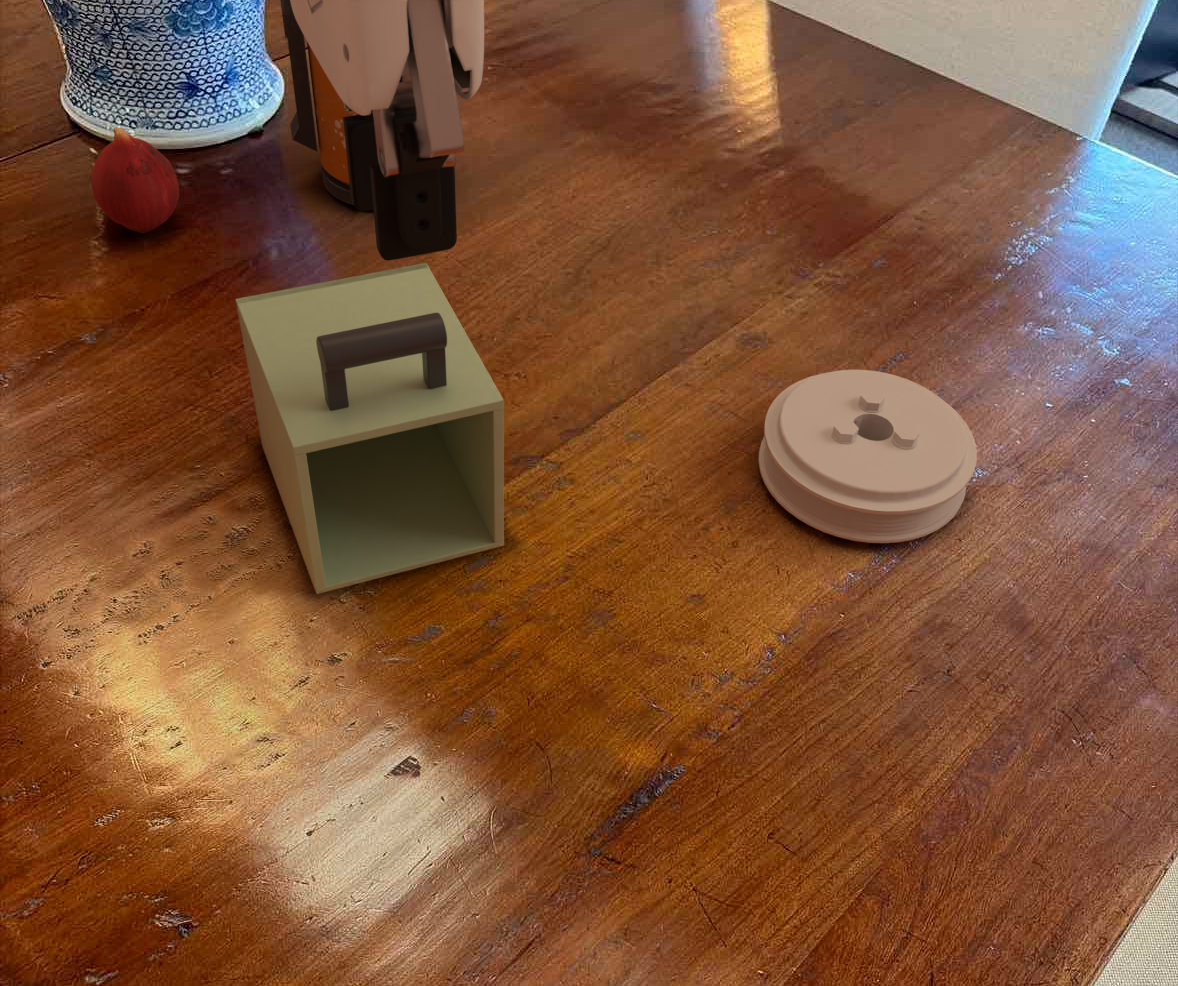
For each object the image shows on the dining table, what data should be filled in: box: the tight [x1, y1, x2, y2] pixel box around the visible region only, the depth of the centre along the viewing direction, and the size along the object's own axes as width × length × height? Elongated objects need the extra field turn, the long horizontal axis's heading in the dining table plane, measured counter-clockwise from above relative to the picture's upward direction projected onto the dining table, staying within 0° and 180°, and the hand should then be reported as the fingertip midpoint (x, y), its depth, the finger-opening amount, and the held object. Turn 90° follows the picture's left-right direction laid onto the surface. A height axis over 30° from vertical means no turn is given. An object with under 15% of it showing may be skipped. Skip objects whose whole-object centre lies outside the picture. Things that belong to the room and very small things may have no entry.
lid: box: [758, 369, 978, 544], centre depth 79 cm, size 13×13×5 cm
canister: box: [279, 0, 358, 206], centre depth 93 cm, size 9×11×20 cm
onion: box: [91, 127, 180, 234], centre depth 92 cm, size 6×6×8 cm
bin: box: [235, 262, 505, 595], centre depth 72 cm, size 13×11×15 cm
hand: (403, 222), depth 54 cm, fingers open, 3 cm apart
